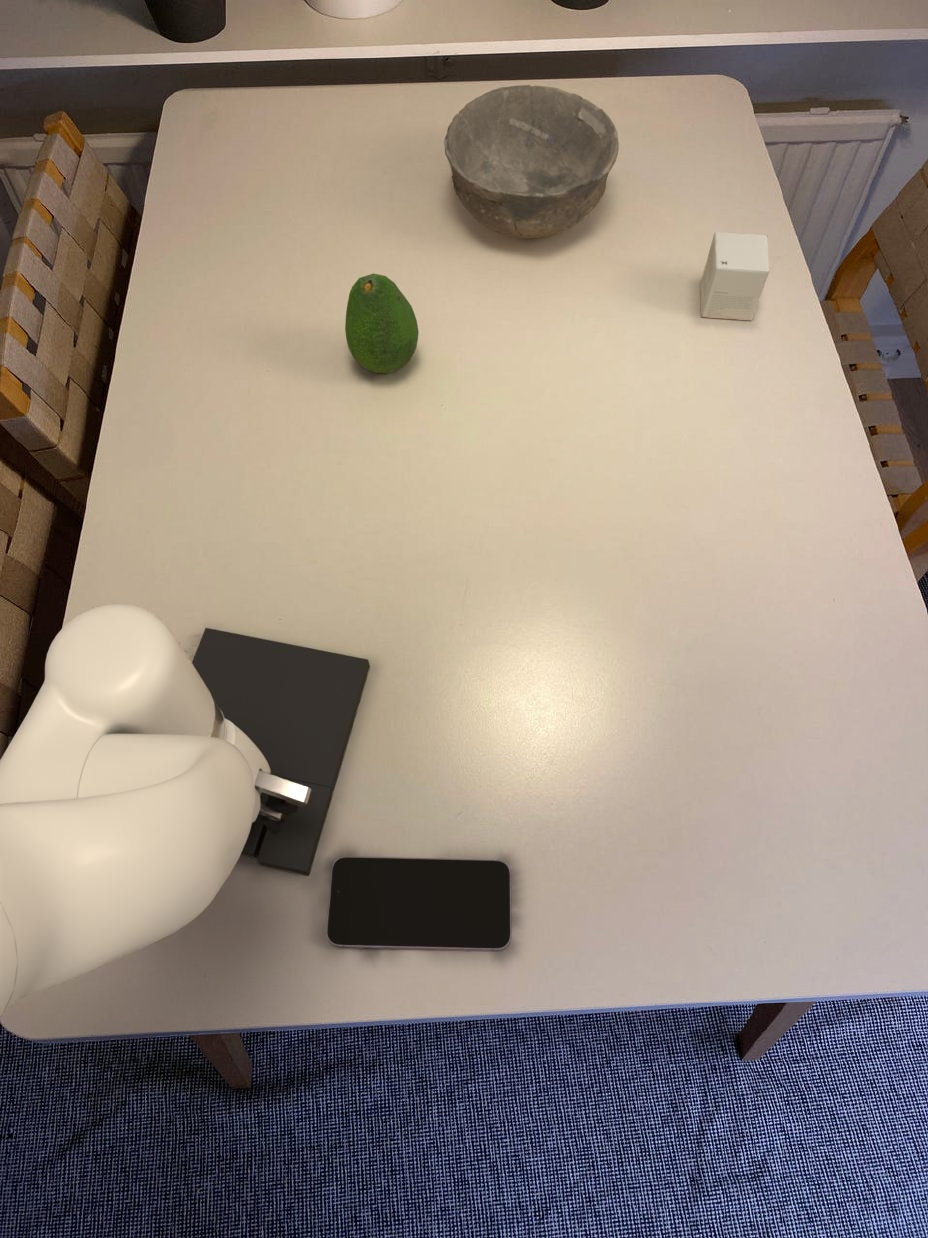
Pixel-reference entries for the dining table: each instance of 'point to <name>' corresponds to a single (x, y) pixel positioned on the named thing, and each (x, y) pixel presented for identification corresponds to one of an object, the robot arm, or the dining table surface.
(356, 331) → the fruit
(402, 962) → the dining table surface
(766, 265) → the product box
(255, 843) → the pad piece
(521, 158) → the bowl
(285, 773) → the mat
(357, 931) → the smartphone
